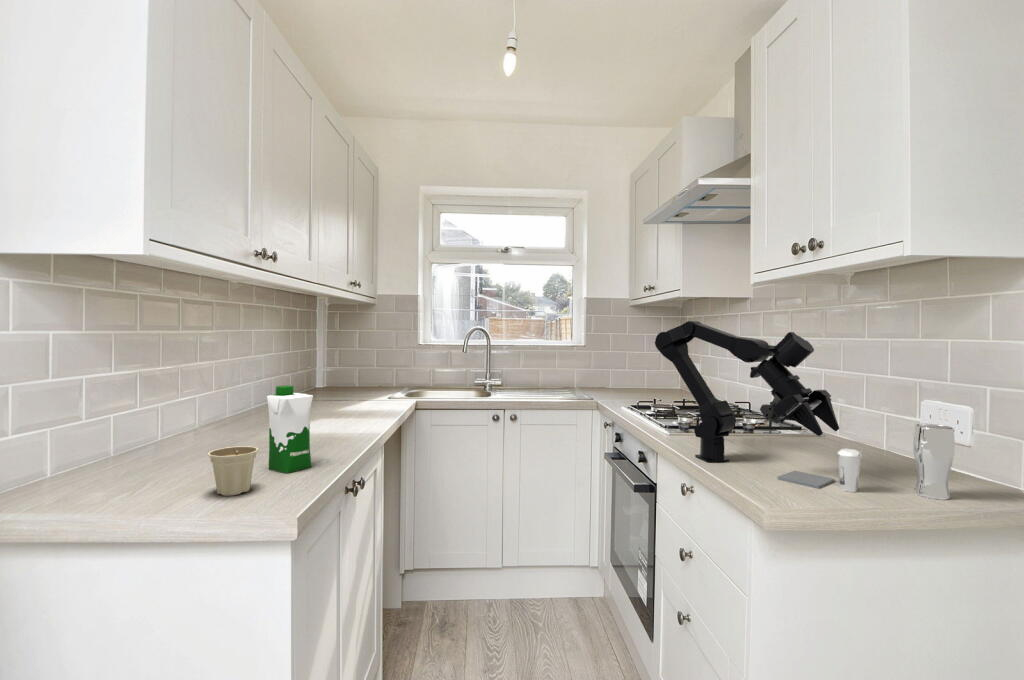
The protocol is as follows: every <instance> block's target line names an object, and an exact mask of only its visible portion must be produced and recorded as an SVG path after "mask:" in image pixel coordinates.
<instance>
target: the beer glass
mask: <svg viewBox="0 0 1024 680" xmlns="http://www.w3.org/2000/svg"><path fill="white" fill-rule="evenodd" d="M914 425H915V427H914V434H913V454H914V455H913V457H914V462H915V468H916V473H917V474H916V475H917V477H916V482H915V483H916V484H915V487H914V494H915V495H917V496H919V497H923V498H927V499H932V500H941V501H945V500H946V501H947V500H950V498H951V494H950V488H949V479H950V478H949V477H950V473H951V470H952V466H953V462H954V459H955V457H954V456H955V447H956V445H955V441H956V440H955V439H956V438H955V428H954V427H952V426H950V425H942V424H935V423H934V424H933V423H916V424H914Z"/></svg>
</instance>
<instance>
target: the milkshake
mask: <svg viewBox="0 0 1024 680" xmlns="http://www.w3.org/2000/svg"><path fill="white" fill-rule="evenodd" d="M863 450H864V448H863V447H861V448H860V450H859V451H858V449H857V450H856V449H852V448H847V447H845V448H840V449H839V450H838V451H837V463H838V464H837V465H838V477H839V479H838V480H839V489H840V490H841V491H844V492H850V493H855V492H858V489H859V481H860V480H859V478H860V470H861V463H862V457H863V455H862V452H863Z"/></svg>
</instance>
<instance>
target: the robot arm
mask: <svg viewBox="0 0 1024 680" xmlns="http://www.w3.org/2000/svg"><path fill="white" fill-rule="evenodd" d="M694 338H696V339H699V340H702V341H704V342H706V343H709V344H712V345H714V346H717V347H720V348H722V349H724V350H727V351H728V352H730V354H732V355H733V356H734V357H736V358H737V359H739V360H741V361H742V362H744V363H748V364H750V363H759V364H758V365H756V366H751V367H750V374H749V378H750V379H753V378H754V379H755V378H756V379H757V378H759V377H761V378H762V379H763V380H764V382H766V384H767V385H768V386H769V387H770V388H771V389H772V390H771V391H770V392H771V395H772V397H773V399H772V400H771V401H770V402H769V404H768V403H767V404H766V403H765V404H761V406H760V408H759V411H760V413H761V414H762V416H763V417H764V418H765V420H766V421H772V423H775V424H779V423H783V422H786V421H793V422H797V423H798V424H800V425H801V426H803V427H804V428H805V429H807V430H809V431H810V432H812V433H813V434H814V435H816V436H818V437H820V436H822V435H823V434H824V432H823V430H822V428H821V426H820V424H819V421H818V420H817V418H818V419H820V420H821V421H822V422H823V423H824V424H826V426H827V427H829V428H831V430H833V431H834V432H837V431H839V429H840V426H839V423H838V419H837V418H836V417H837V416H836V414H835V412H834V408H833V404H832V398H831V397H832V395H831V394H830V393H829V392H828V391H827V390H826V389H815V390H812V389H811V387H810V388H806V387H805V386H804V385H803V383H801V382H800V379H801V378H800V376H798V374H796V375H794V374H793V373H792V371H790V370H789V369H788V368H790V367H792V368H797V367H798V366H799V365H800V364H801V363H802V362H803V361H804V360H806V359H807V358H808V357H809V356H810V355H811V354H812V353H814V352H815V348H814V346H813V345H812V344H811V343H810V342H809V341H808V340H806V339H804V338H803V337H801V336H799V334H798V335H797V334H796V332H794V331H789V332H787V333H786V334H785V335H784V337H783V338H782V339H781V340H780V341H779V342H778V343H777V344H776V345H771V344H769V343H768V342H767V341H766V340H764V339H759V338H753V337H745V336H740V335H739V336H738V335H735V334H732V333H730V332H727V331H724V330H720V329H717V328H715V327H712V326H709V325H707V324H704V323H702V322H701V321H697V320H695V321H694V320H687V321H685V322H684V323H682V324H681V325H679V326H676V327H674V328H671V329H669V330H667V331H660V332H658V334H657V335H656V338H655V341H654V345H655V348H656V349H657V351H659V353H660V354H661V355H662V356H663V357H664V358H665V359H667V360H668V361H669V362H671V363H672V364H673V366H674V367H675V369H676V370H677V372H678V374H679V375H680V377H681V379H682V380H683V382H684V384H685V385H686V387H687V389H688V390H689V392H690V393H691V395H692V397H693V398H694V400H695V402H696V404H697V405H698V409H699V411H698V412H699V418H700V420H701V422H700V423H699V424H698V425H696V427H695V428H694V429H693V430H694V431H693V432H694V435H695V437H696V438H700V442H699V444H700V449H699V450H700V451H699V454H694V455H695V456H694V457H695V458H698V459H700V460H702V461H704V462H706V463H716V462H718V463H719V462H720V463H721V462H729V461H730V459H729V458H727V457H725V438H724V437H729V435H730V432H731V431H732V430H733V429H734V428H735V426H736V421H737V420H736V416H735V414H736V413H735V411H734V410H733V409H732V408H731V406H730V403H729V402H728V401H727V400H719V399H718V398H716V396H715V395H714V393H713V392H712V390H711V389H710V387H709V385H708V384H707V383H706V381H705V380H704V379H705V378H704V377H703V376H702V374H701V372H700V371H699V370H698V368H697V367H696V365H695V364H694V362H693V360H692V358H691V357H690V355H689V345H688V343H690V342H691V341H693V340H694ZM769 357H770V358H769ZM816 417H817V418H816Z"/></svg>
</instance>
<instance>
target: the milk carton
mask: <svg viewBox="0 0 1024 680" xmlns="http://www.w3.org/2000/svg"><path fill="white" fill-rule="evenodd" d="M313 398H314V395H312V394H307V393H299V392H294V385H277V386H276V387H275V394H271V395H267V396H266V402H267V409H268V416H269V417H268V420H269V421H268V424H269V427H268V430H269V431H268V432H269V434H268V435H269V437H268V438H269V440H268V441H269V442H268V445H269V446H268V447H269V448H268V450H269V452H268V470H271V471H276V472H279V473H284V474H290V473H295V472H297V471H302V470H305V469H309V468H312V458H311V445H310V444H311V441H310V439H311V436H310V435H311V434H310V432H311V431H310V429H311V428H310V427H311V426H310V424H311V423H310V422H311V421H310V420H311V418H310V417H311V416H310V415H311V412H310V411H311V406H312V403H313Z"/></svg>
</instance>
